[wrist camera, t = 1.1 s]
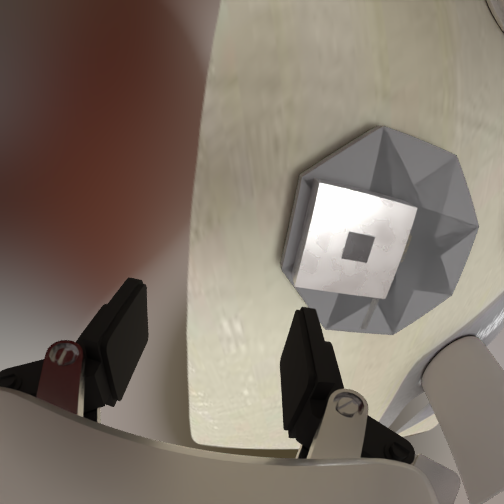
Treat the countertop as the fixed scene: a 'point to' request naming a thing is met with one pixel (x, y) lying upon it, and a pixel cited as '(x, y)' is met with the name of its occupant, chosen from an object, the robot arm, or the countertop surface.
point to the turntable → (420, 238)
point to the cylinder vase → (470, 413)
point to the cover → (351, 240)
